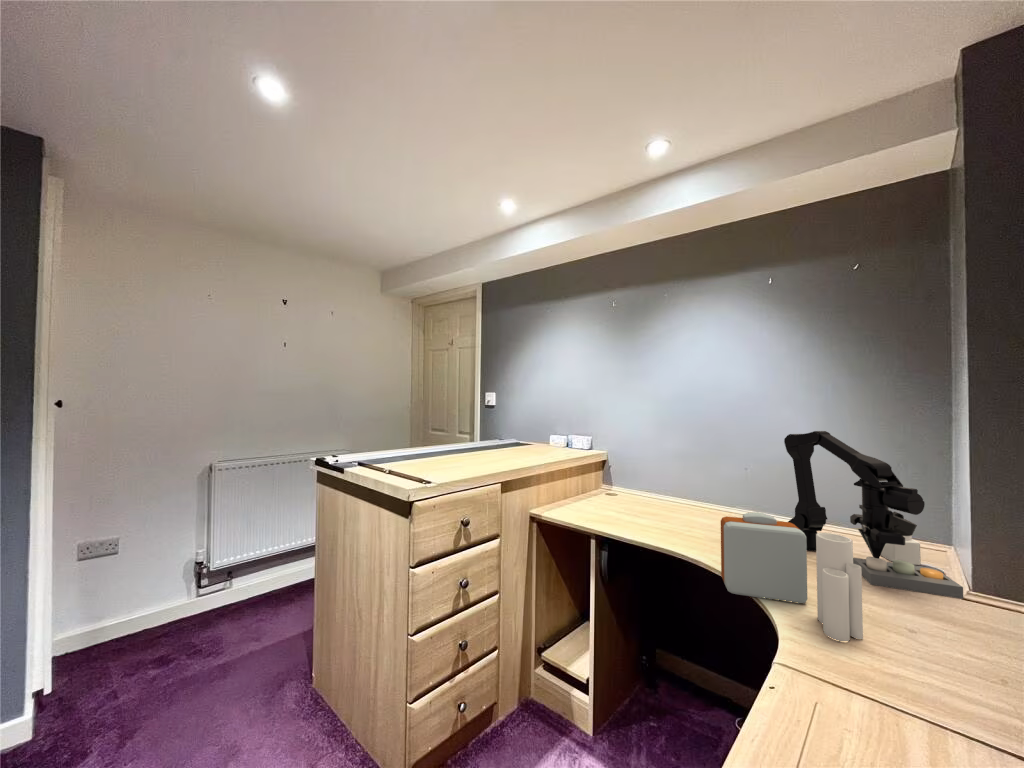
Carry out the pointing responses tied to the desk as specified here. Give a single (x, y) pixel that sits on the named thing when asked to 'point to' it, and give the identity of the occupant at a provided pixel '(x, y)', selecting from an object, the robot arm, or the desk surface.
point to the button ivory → (876, 564)
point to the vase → (838, 587)
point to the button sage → (903, 567)
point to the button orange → (931, 573)
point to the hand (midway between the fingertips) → (876, 557)
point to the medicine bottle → (903, 550)
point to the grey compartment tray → (910, 580)
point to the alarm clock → (764, 557)
